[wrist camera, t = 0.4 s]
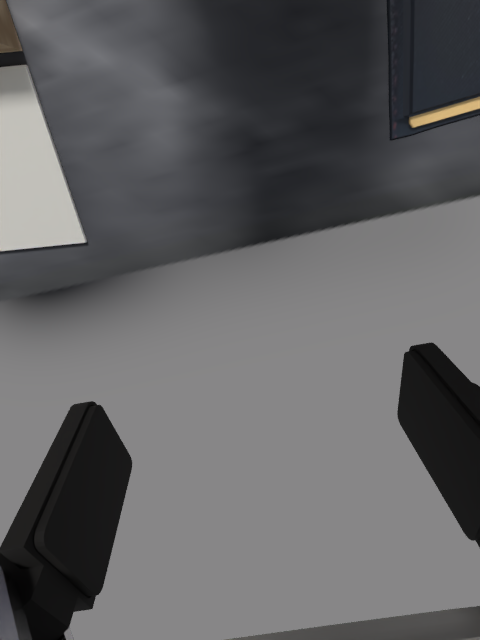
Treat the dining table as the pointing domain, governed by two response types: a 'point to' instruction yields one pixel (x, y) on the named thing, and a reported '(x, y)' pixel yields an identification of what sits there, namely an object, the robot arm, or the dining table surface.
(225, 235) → the dining table surface
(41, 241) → the mat
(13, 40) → the board
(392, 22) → the dark blue flat slab
